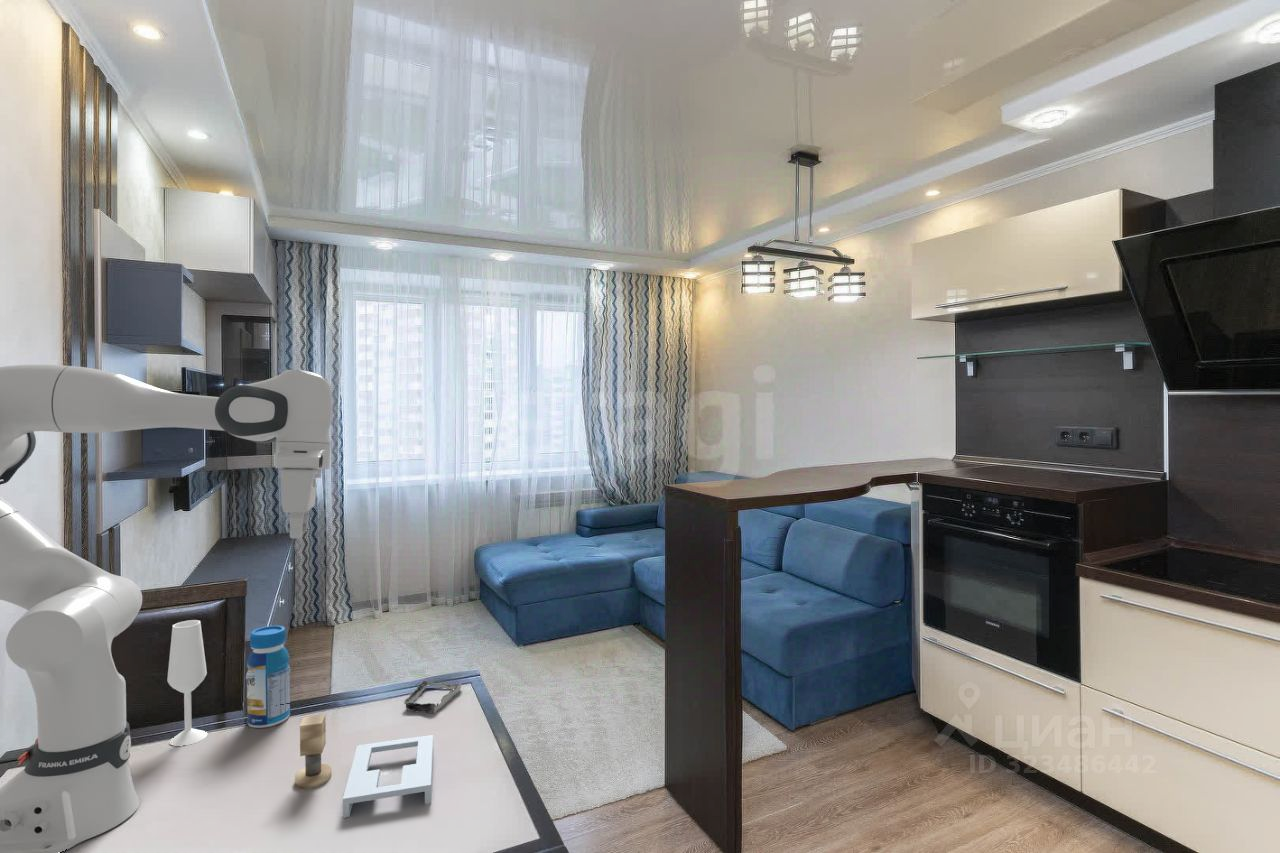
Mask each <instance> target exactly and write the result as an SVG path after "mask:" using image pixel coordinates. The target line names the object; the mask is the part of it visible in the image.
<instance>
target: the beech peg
mask: <svg viewBox="0 0 1280 853" xmlns="http://www.w3.org/2000/svg"><path fill="white" fill-rule="evenodd" d="M326 723H327V722H326V714H318V715H310V716H303V719H302V721H301V723H300V725H299V753H300V754H299V756H300V757H304V756H305V757H304V759H305V761H304V762H305V767H303V768H302V769H300V770H298V772H296V774H295V775H294V785H295V787H297V788H298V789H303V790H305V789H314V788H317V787H319V786H322V785H324V784H326V783H327V782H328V781H330V780H331V778H332V767H331V765H330V764H327V763H322V753H323V752H324V749H325V746H326V744H327V742H326V741H327V740H326V739H327V738H326V736H327V735H326V732H327V729H326V725H327V724H326Z"/></svg>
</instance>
